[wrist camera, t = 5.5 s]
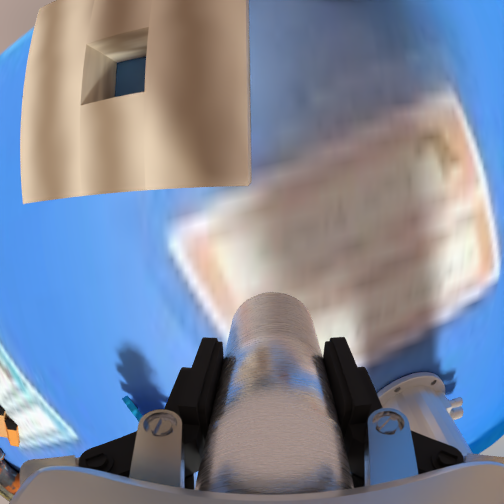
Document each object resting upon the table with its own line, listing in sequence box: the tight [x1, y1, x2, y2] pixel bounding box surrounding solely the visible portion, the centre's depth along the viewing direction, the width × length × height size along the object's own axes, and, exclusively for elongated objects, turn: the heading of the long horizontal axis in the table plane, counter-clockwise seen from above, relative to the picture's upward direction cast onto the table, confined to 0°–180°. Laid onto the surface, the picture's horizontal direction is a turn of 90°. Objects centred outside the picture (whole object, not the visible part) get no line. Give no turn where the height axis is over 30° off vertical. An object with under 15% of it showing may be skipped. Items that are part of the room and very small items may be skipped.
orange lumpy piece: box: [0, 449, 20, 495], centre depth 46 cm, size 25×13×17 cm
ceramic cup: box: [0, 484, 14, 502], centre depth 53 cm, size 13×10×10 cm
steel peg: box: [195, 292, 354, 495], centre depth 9 cm, size 4×4×10 cm
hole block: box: [20, 0, 252, 204], centre depth 20 cm, size 20×20×6 cm
